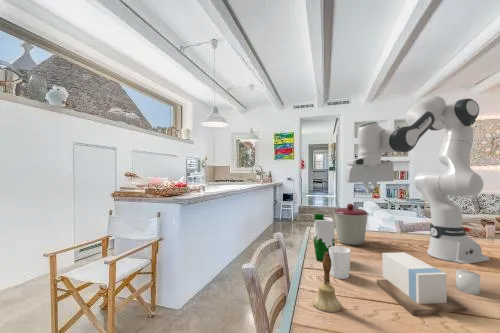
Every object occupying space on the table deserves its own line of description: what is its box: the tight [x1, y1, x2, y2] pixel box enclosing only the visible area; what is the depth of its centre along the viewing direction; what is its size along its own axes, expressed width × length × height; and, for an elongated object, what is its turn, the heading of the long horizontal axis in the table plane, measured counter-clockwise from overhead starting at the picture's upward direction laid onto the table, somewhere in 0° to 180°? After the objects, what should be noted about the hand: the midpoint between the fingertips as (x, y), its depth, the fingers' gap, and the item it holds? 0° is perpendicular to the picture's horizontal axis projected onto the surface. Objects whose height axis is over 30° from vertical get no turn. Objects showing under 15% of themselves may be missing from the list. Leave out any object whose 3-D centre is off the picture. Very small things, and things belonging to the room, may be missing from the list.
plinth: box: [376, 279, 468, 316], centre depth 78 cm, size 16×18×2 cm
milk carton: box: [313, 213, 336, 262], centre depth 111 cm, size 9×9×20 cm
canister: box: [332, 203, 369, 246], centre depth 133 cm, size 18×18×21 cm
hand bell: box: [312, 252, 342, 313], centre depth 75 cm, size 8×8×16 cm
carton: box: [381, 251, 448, 304], centre depth 81 cm, size 9×9×18 cm
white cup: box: [329, 245, 351, 280], centre depth 94 cm, size 8×8×10 cm
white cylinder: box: [455, 269, 482, 296], centre depth 81 cm, size 6×6×6 cm
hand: (370, 192), depth 105 cm, fingers closed
